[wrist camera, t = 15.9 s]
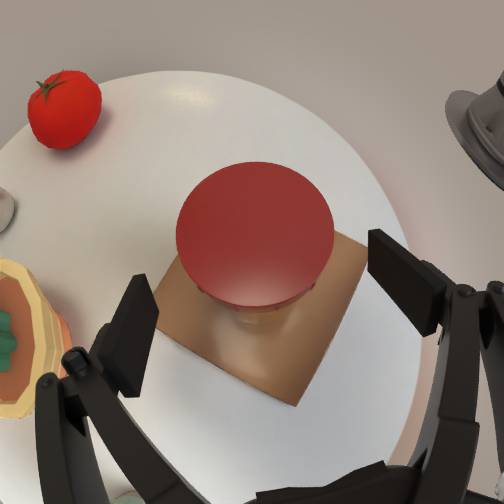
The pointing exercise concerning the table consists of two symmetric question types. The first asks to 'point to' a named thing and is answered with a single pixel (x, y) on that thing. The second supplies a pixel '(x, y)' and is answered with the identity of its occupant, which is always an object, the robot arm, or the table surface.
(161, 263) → the table surface
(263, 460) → the table surface
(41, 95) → the tomato
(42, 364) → the potted cactus
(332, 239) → the jam lid
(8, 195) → the silver metal bottle
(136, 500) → the coffee cup
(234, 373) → the plate
